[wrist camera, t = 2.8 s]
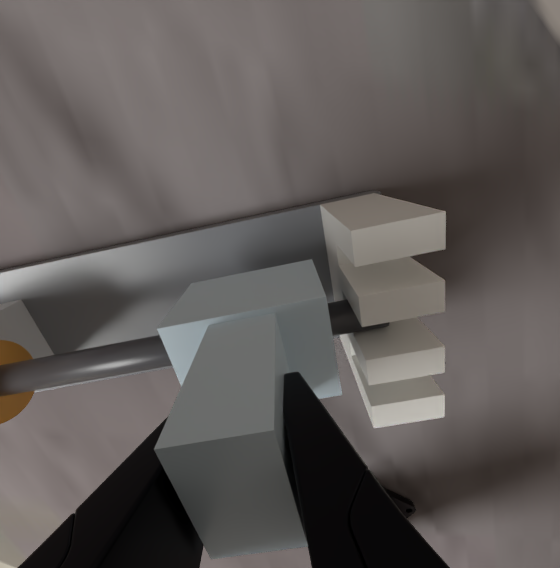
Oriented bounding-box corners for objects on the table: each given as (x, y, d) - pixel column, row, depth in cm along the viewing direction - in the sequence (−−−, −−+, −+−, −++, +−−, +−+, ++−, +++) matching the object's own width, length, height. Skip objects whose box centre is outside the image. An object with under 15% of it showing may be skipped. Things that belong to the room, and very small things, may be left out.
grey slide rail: (373, 190, 14) (462, 209, 7) (384, 318, 16) (456, 420, 10) (-32, 276, 15) (-269, 359, 8) (37, 382, 18) (-104, 508, 11)
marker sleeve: (312, 259, 11) (367, 405, 4) (325, 335, 13) (384, 542, 6) (191, 283, 12) (61, 455, 5) (216, 355, 13) (144, 573, 6)
